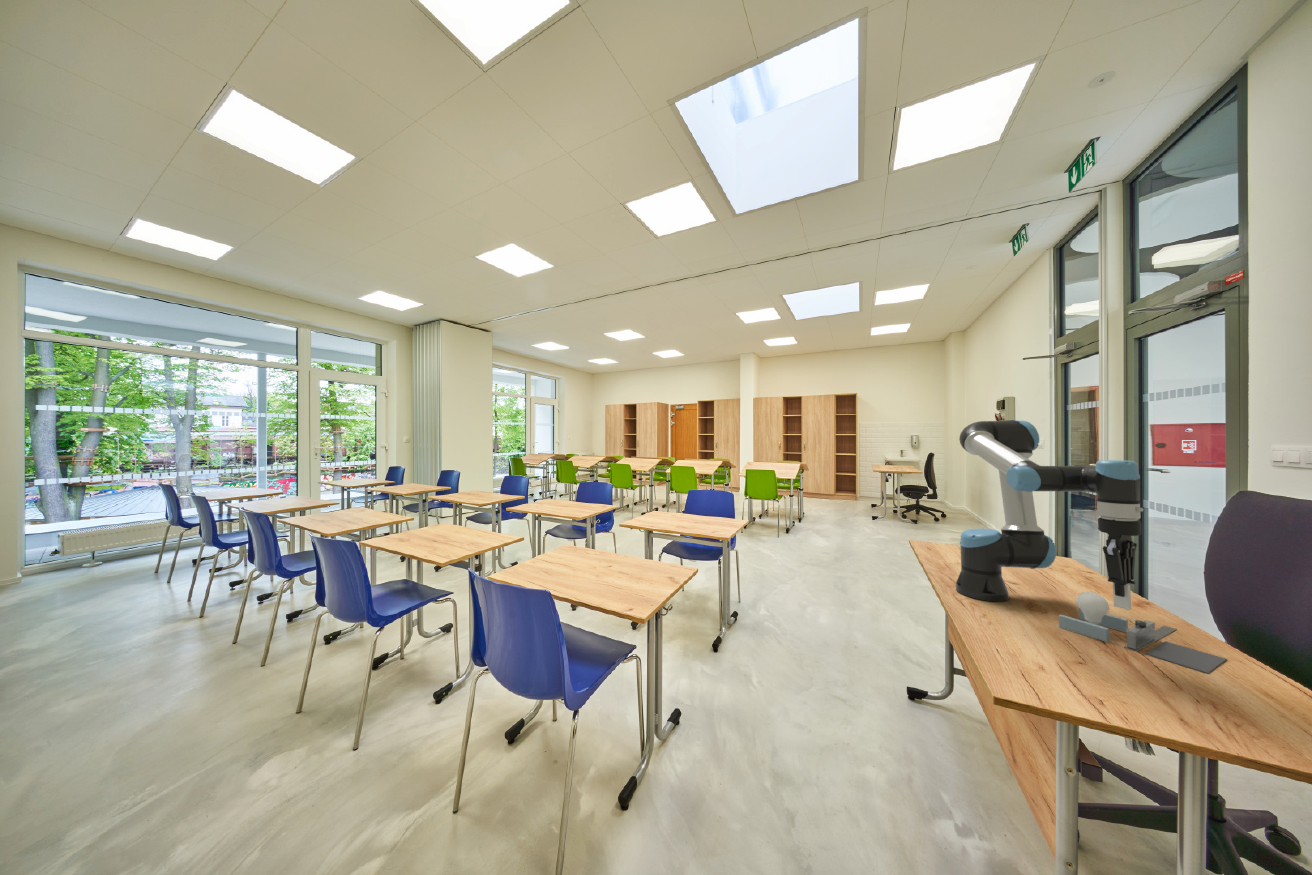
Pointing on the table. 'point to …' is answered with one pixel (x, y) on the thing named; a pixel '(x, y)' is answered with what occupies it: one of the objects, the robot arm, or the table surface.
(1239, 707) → the table surface
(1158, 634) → the track
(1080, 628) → the channel
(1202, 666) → the mat
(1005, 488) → the robot arm
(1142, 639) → the latch bar
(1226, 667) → the table surface
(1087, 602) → the light bulb
